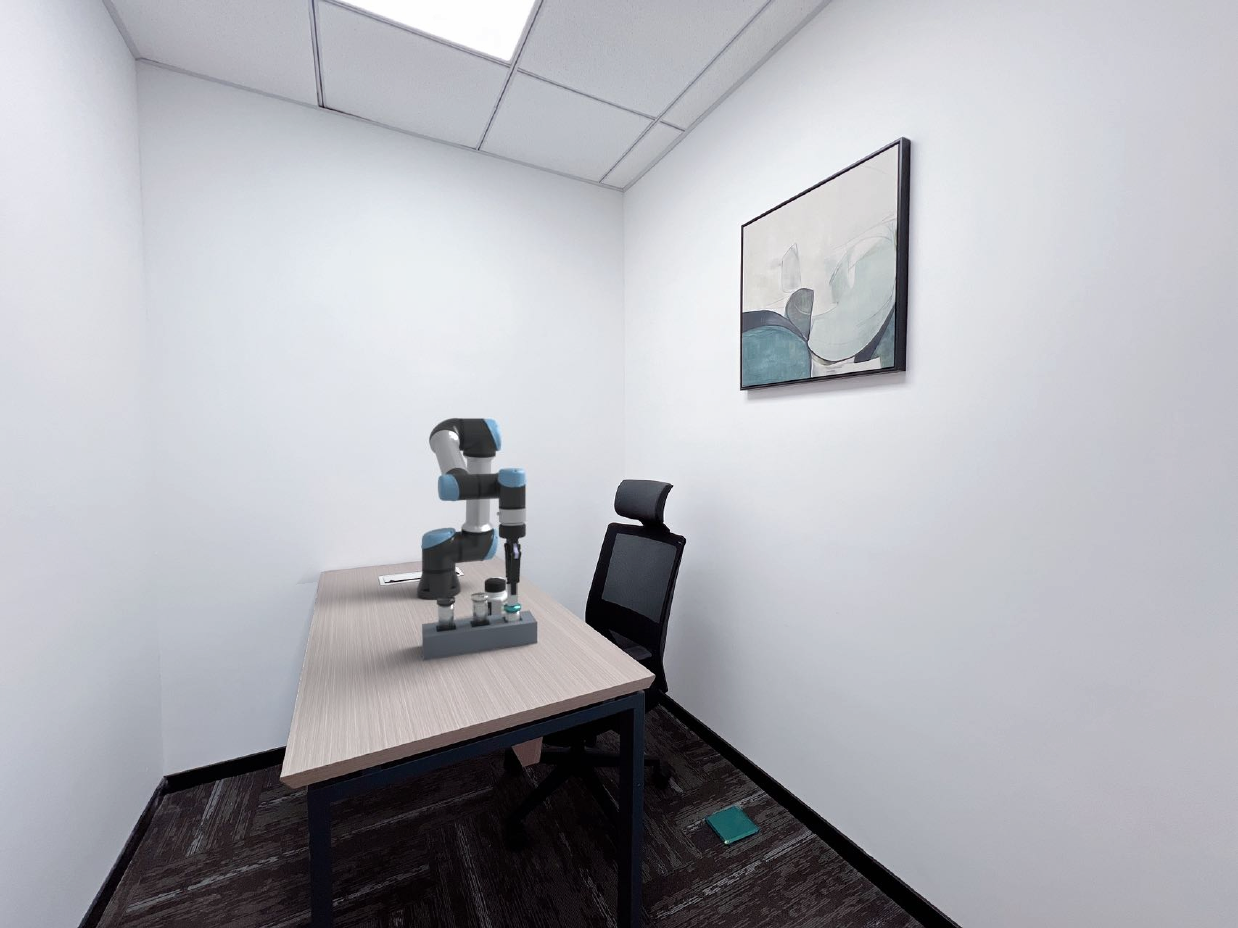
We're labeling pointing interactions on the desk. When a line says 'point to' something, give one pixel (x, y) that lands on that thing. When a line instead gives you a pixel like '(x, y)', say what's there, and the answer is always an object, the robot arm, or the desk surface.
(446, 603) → the knob black
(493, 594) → the container
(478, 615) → the knob ivory
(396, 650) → the desk surface
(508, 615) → the knob teal
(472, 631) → the mount
